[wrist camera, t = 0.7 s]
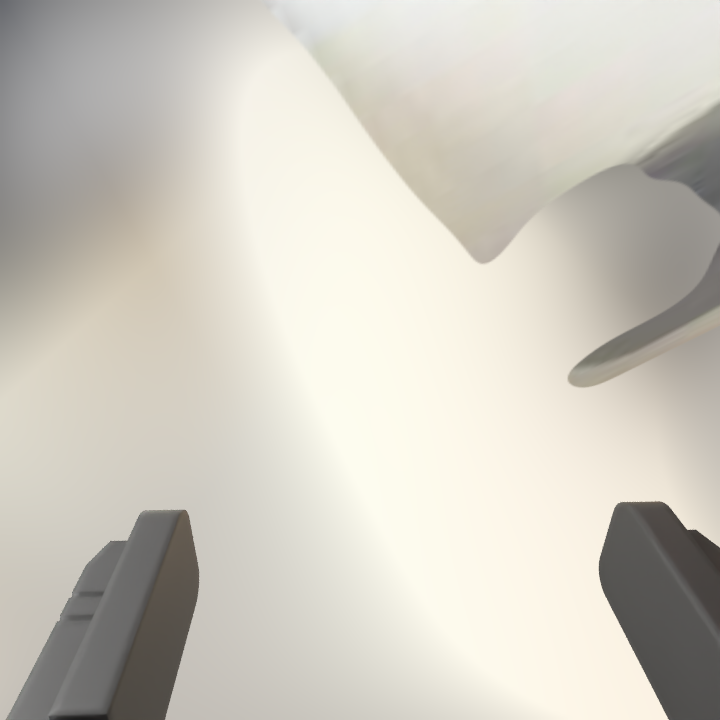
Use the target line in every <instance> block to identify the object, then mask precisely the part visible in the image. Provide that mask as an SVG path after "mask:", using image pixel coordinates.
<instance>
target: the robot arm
mask: <svg viewBox="0 0 720 720" xmlns="http://www.w3.org/2000/svg"><path fill="white" fill-rule="evenodd" d="M599 576H600V581H601V585H602V589H603V591H604V594H605V596H606V598H607V600H608V602H609V604H610V606H611V608H612V610H613V612H614V614H615V616H616V617H617V619H618V621H619V623H620V625H621V627H622V629H623V631H624V633H625V635H626V637H627V638H628V641H629V643H630V645H631V647H632V649H633V651H634V653H635V655H636V657H637V658H638V660H639V662H640V664H641V666H642V668H643V670H644V672H645V674H646V676H647V678H648V680H649V682H650V684H651V686H652V688H653V689H654V692H655V693H656V695H657V697H658V699H659V701H660V703H661V705H662V707H663V709H664V711H665V713H666V715H667V717H668V719H669V720H720V548H719V547H718V546H717V545H715V544H714V543H713V542H711V541H710V540H709V539H707V538H706V537H704V536H703V535H702V534H701V533H699V532H698V531H697V530H687V529H686V528H685V527H684V525H683V524H682V523H681V522H680V520H679V519H678V518H677V516H676V515H675V514H674V512H673V511H672V510H671V509H670V508H669V506H668V505H666V504H665V503H663V502H621V503H618V504H617V505H616V507H615V509H614V512H613V515H612V518H611V522H610V525H609V529H608V532H607V536H606V539H605V543H604V546H603V549H602V553H601V556H600V561H599ZM198 588H199V569H198V562H197V557H196V552H195V547H194V542H193V536H192V530H191V525H190V520H189V515H188V513H187V511H186V510H153V511H143V512H142V513H141V514H140V515H139V517H138V519H137V521H136V523H135V526H134V528H133V530H132V532H131V534H130V537H129V539H128V541H110V542H109V543H108V544H107V545H106V546H105V547H104V548H103V549H102V550H101V551H100V552H99V553H98V554H97V555H96V556H95V557H94V558H93V559H92V560H91V561H90V562H89V563H88V564H87V565H86V567H85V569H84V570H83V572H82V574H81V576H80V578H79V580H78V582H77V584H76V586H75V588H74V590H73V592H72V597H71V598H69V600H68V601H67V603H66V605H65V607H64V609H63V611H62V613H61V615H60V621H59V622H57V623H56V625H55V627H54V629H53V631H52V632H51V634H50V636H49V639H48V640H47V642H46V644H45V646H44V648H43V650H42V652H41V654H40V656H39V658H38V660H37V661H36V663H35V665H34V667H33V669H32V671H31V673H30V675H29V677H28V679H27V681H26V683H25V685H24V687H23V689H22V690H21V692H20V694H19V696H18V699H17V700H16V702H15V704H14V706H13V708H12V710H11V712H10V714H9V715H8V717H7V719H6V720H165V717H166V713H167V709H168V705H169V702H170V698H171V694H172V691H173V687H174V683H175V680H176V676H177V672H178V669H179V665H180V661H181V657H182V654H183V650H184V646H185V643H186V639H187V635H188V632H189V628H190V624H191V620H192V617H193V613H194V609H195V606H196V602H197V596H198Z"/></svg>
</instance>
